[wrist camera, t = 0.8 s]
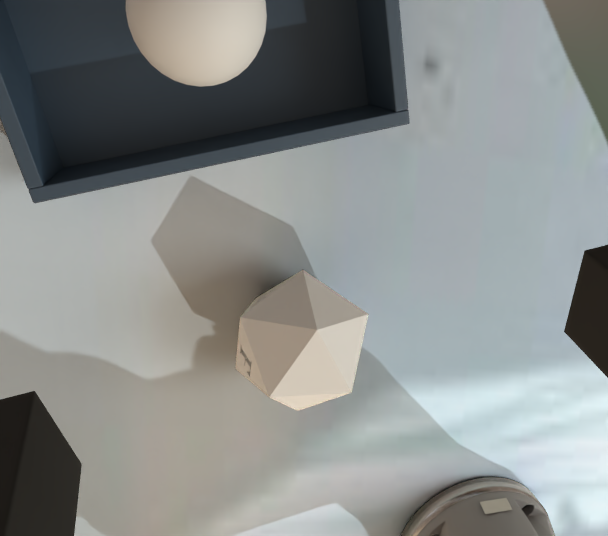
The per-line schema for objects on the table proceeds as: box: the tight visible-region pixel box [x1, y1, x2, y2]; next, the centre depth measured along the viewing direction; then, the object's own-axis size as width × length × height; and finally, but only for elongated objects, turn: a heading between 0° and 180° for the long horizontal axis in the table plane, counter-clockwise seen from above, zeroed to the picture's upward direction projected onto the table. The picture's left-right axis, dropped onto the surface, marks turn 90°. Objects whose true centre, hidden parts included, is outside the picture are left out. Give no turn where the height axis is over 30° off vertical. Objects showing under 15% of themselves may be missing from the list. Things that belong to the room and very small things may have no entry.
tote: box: [0, 0, 409, 203], centre depth 29 cm, size 15×21×6 cm
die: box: [235, 270, 368, 411], centre depth 36 cm, size 8×9×10 cm
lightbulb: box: [126, 0, 267, 87], centre depth 26 cm, size 6×6×11 cm
